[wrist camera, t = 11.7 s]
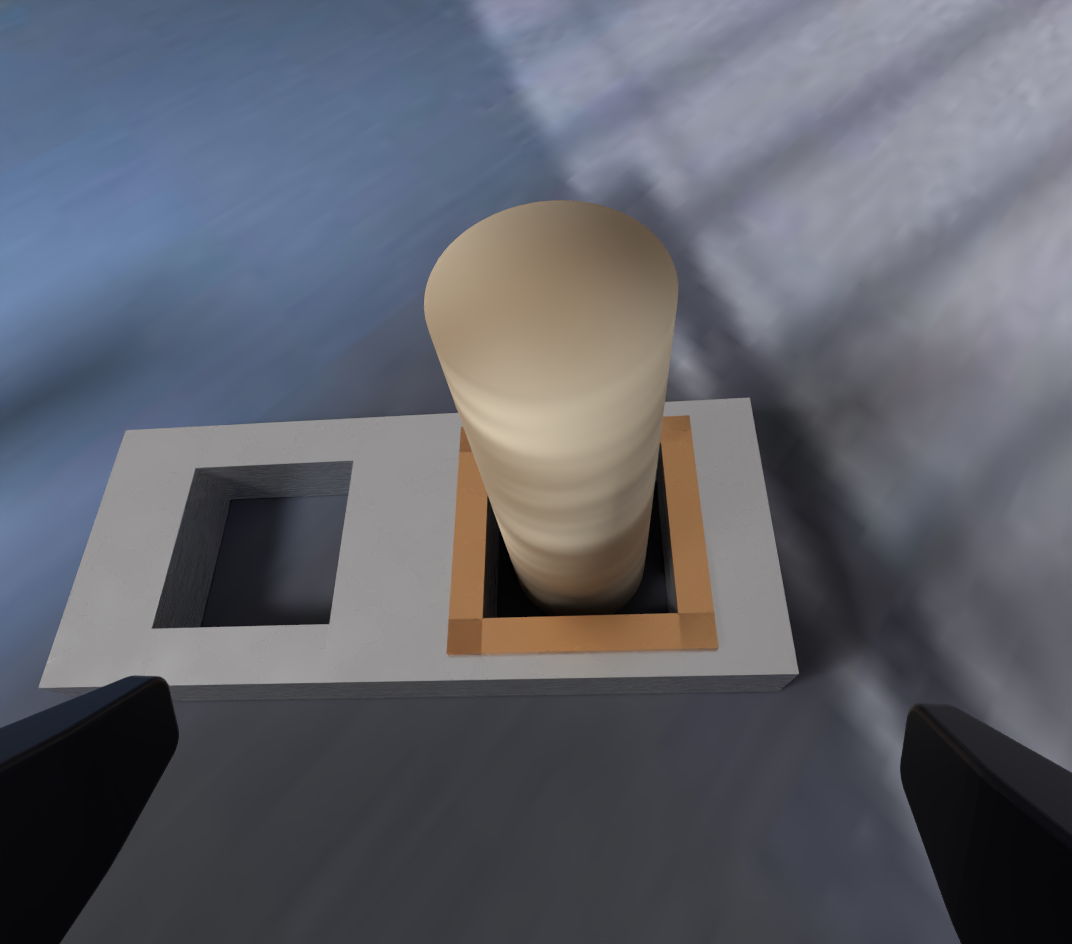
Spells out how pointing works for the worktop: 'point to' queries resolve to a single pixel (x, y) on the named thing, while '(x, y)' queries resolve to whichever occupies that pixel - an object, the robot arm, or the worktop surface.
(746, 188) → the worktop surface
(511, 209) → the maple peg
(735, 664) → the white peg board
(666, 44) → the worktop surface
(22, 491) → the worktop surface
